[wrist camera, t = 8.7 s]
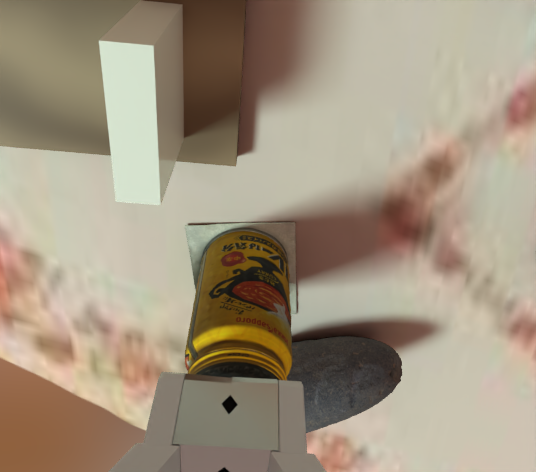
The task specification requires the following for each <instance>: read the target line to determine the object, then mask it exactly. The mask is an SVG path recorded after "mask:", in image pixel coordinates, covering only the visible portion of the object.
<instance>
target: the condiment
mask: <svg viewBox="0 0 536 472" xmlns="http://www.w3.org/2000/svg"><path fill="white" fill-rule="evenodd" d="M185 229H186V235H187V240H188V245H189V252H190V257H191V263H192V269H193V276H194V284H195V288H196V295H195V301H194V304H193V305H194V306H193V312H192V317H191V323H190V329H189V334H188V339H187V345H186V350H185V364H186V368H187V370H188V374H195V375H206V376H217V377H227V378H232V377H243V378H261V379H277V380H285V381H287V375H288V374H289V371H290V369H291V366H292V361H293V360H292V348H291V345H292V340H291V314H296V237H295V222H288V223H286V222H284V223H277V222H274V223H266V222H265V223H231V224H211V225H192V226H188V225H186V226H185Z"/></svg>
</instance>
